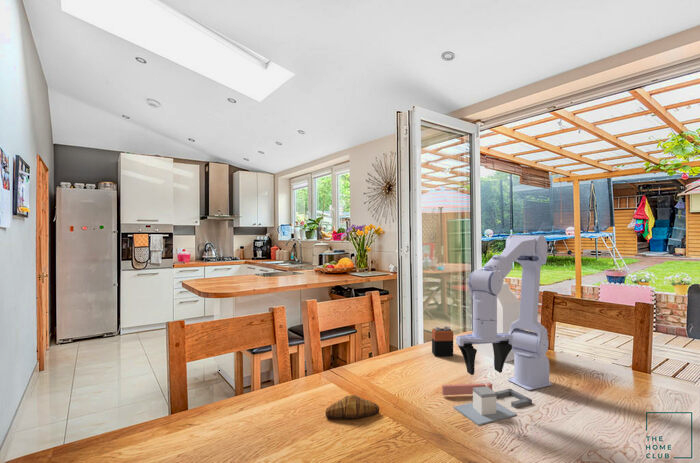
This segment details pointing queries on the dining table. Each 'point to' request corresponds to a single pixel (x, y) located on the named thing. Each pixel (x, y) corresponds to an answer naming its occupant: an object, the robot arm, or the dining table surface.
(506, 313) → the milk
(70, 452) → the dining table surface
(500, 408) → the slate mat
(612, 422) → the dining table surface
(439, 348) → the battery
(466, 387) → the pink flat bar
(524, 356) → the robot arm
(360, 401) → the croissant
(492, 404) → the plug
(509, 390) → the bracket
